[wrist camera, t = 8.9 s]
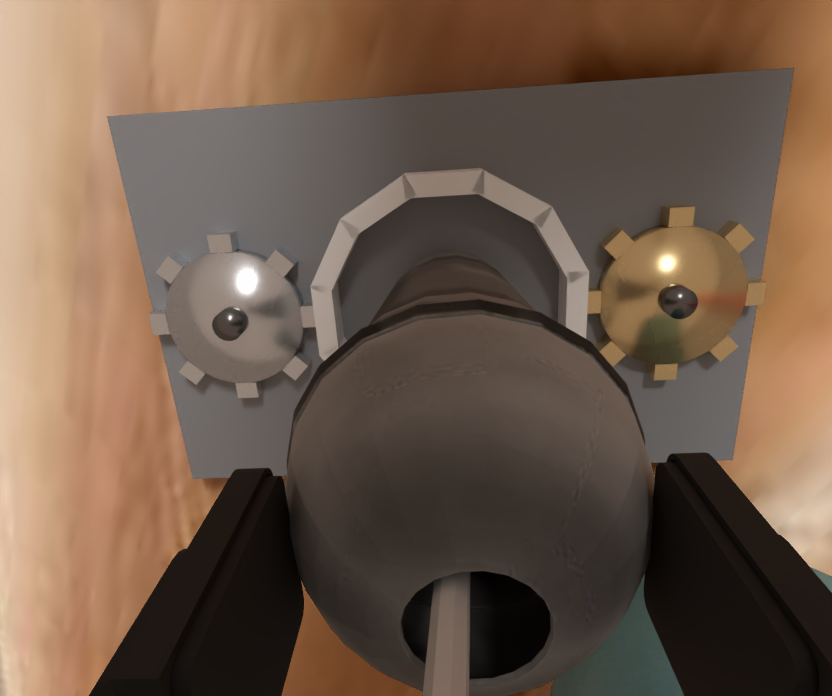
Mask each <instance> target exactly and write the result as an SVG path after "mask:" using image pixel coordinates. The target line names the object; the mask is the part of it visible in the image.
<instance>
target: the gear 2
mask: <svg viewBox="0 0 832 696" xmlns="http://www.w3.org/2000/svg"><path fill="white" fill-rule="evenodd" d="M694 212H695V206H691V205H687V204H680V205H663V206H662V213H661V224H662V225H659V226H655V227H651V228H649V229H646V230H644V231H642V232H640V233H638V234H636V235H634V236H633V237H631V238H630V237H629V236H628V235H627V234H626V233H625V232H624V231H623V230H621V229H619V228H617V227H615V228H614V229H613V230H612V231H611V232H610V233H609V234H608V235H607V236H606V237H605V238H604V239H603V240H602V241H601V242H600V243H599V245H600V246H601V247H602V248H603V249H604V250H605V251H606V252H607V253H608V254H609V255H610V256H611V257H610V259H609V260H608V261H607V263H606V265H605V267H604V268H603V270H602V273H601V275H600V278H599V281H598V285H597V286H588V308H587V314H590V313H597V315H598V318H599V321H600V323H601V325H602V328H603V329H604V331H605V332H606V334H607V335H608V336H609V337H608V336H607V335H605V336H604V337H602V338H601V339H600V340H599V341H598V342H597V343H596V344H595V345H594V346H595V347H596V348H597V349H598V350H599V352H600V353H601V354H602V355H603V356H604V357H605V359H606V360H607V361H608V362H609V363H610V364H611V365H612V366H614V365H615V364H617V363H618V362H619V361H620V360H621V359H622V358H623V357H624V356H626V354H628V355H629V356H631V357H633V358H635V359H637V360H640V361H643V362H647V363H648V369H647V373H648V374H649V375H650V377H651V378H652V379H653V380H676V376H677V367H678V364H677V363H680V362H684V361H688V360H691V359H693V358H696V357H698V356H700V355H702V354H704V353H706V352H707V351H708V352H709V353H710V354H711V355H713V356H714V357H715V358H716V359H718V360H719V361H720V362H721V361H722V360H723V359H725V358H726V357H727V356H728V355H729V354H730V353H732V352H733V351H734V350H735V349H736V348H738V347H739V346H738V345H737V344H736V343H735V342H734V341H733V340H732V339H731V338H730V337H729V336H728V333H729V332H730V331H731V330H732V328H733V327H734V325H735V324H736V322H737V321H738V319H739V317H740V315H741V313H742V310H743V307H744V306H753V305H764V298H765V292H766V286H767V282H765V281H762V280H760V279H758V278H747V275H746V270H745V267H744V264H743V261H742V259H741V257H740V256H739V254H738V253H740V252H741V251H742V250H744V249H745V248H746V247H747V246H748V245H749V244H750V243H751V242H752V241H754V240H755V239H754V238H753V237H752V236H751V235H750V234H749V233H748V232H747V230H746V229H745V228H744V227H743V226H742V225H741V224H740V223H737V222H734V221H730V220H729V221H728V222H727V223H726V224H725V225H724V226H723V227H721V228H720V229H719V230H718V231H717V232H716V233H714V232H711V231H709V230H706V229H704V228H701V227H697V226H694V225H693V221H694ZM624 352H625V353H626V354H625V353H624Z"/></svg>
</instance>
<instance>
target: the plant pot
mask: <svg viewBox="0 0 832 696" xmlns="http://www.w3.org/2000/svg"><path fill="white" fill-rule="evenodd" d="M811 569H812V570H813V571H814V573H815V574H816V575H817V576H818V577H819V578H820V580H821V581H822V582H823V583H824V584H825V585H826V587H827V588H828V589H829V590H830V591H831V592H832V576H829V575H827V574H825V573H823V572H820V571H818V570H816V569H813V568H811ZM644 578H645V574H644V576H643V578H642V580H641V583H640V585H639V587H638V589H637V591H636V593H635V596H634V598H633V600H632V602H631V604H630V607H629V609H628V611H627V613H626V614H625V616H624V617H623V619H622V620H621V622H620V623H619V625H618V626H617V628H616V629H615V630H614V631H613V632H612V633H611V634H610V635H609V636H608V637H607V638H606V639H605V640H604V641H603V643H602V644H601V645H600V646H599V647H598V648H597V649H596V650H595V651H594V652H593V653H592V654H591V655H590V656H589V657H588V658H587V659H586V660H584V661H583V662H582V663H580V664H579V665H577V666H576V667H574V668H573V669H571V670H569V671H567V672H566V673H564V674H562V675H560V676H559V677H557V678H555V679H554V682H553V685H552V690H551V695H550V696H684V694H683V692H682V690H681V687H680V685H679V683H678V680H677V678H676V676H675V674H674V671H673V669H672V667H671V664H670V662H669V660H668V658H667V655H666V653H665V651H664V648H663V646H662V644H661V642H660V639H659V637H658V635H657V632H656V630H655V628H654V625H653V623H652V621H651V619H650V616H649V614H648V611H647V609H646V605H645V600H644Z"/></svg>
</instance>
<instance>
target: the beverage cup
mask: <svg viewBox="0 0 832 696" xmlns="http://www.w3.org/2000/svg"><path fill="white" fill-rule="evenodd" d="M654 483H655V479H654V474H653V470H652V465H651V461H650V458H649V455H648V452H647V450H646V447H645V438H644V432H643V429H642V426H641V423H640V421H639V418H638V415H637V412H636V409H635V406H634V403H633V400H632V398H631V395H630V392H629V389H628V386H627V383H626V382H625V381H624V380H623V379H622V378H621V376H620V375H619V374H618V373H617V372H616V370H615V369H614V368H613V367H612V366H611V365H610V363H609V362H608V361H607V360H606V359H605V357H604V356H603V355H602V354H601V353H600V352H599V350H598V349H597V348H596V347H595V346H594V344H593V343H592V342H591V341H589V340H587V339H586V338H584V337H582V336H580V335H579V334H577V333H575V332H574V331H572V330H570V329H568V328H567V327H565V326H563V325H562V324H560V323H558V322H556V321H555V320H553V319H551V318H550V317H548V316H546V315H544V314H543V313H541V312H538V311H535V310H534V309H533V308H532V306H531V305H530V304H529V303H528V302H527V301H526V300H525V299H524V298H523V297H522V296H521V295H520V294H519V293H518V291H517V290H516V289H515V288H514V287H513V286H512V285H511V284H510V283H509V282H508V281H507V280H506V279H505V278H504V277H503V275H502V274H501V273H500V272H499V271H498V270H497V269H496V268H494V267H492V266H491V265H490V264H489V263H487V262H486V261H484V260H482V259H480V258H479V257H477V256H475V255H474V254H470V253H466V252H461V251H456V250H452V251H442V252H435V253H433V254H431V255H429V256H426V257H424V258H422V259H419V260H418V261H417V262H416V263H415V264H414V265H413V266H412V267H410V268H409V269H408V270H407V271H406V272H405V274H403V275H402V276H401V277H400V278H399V280H398V281H397V283H396V284H395V286H394V287H393V289H392V290H391V292H390V293H389V295H388V296H387V298H386V299H385V301H384V302H383V304H382V305H381V307H380V309H379V310H378V312H377V313H376V315H375V316H374V318H373V319H372V321H371V322H370V324H369V325H368V326H366V327H363V328H361V329H360V330H359V331H358V332H357V333H356V334H354V335H353V336H352V337H351V338H350V339H349V340H348V341H346V342H345V343H344V344H343V345H342V346H341V347H340V348H338V349H337V350H336V351H335V352H334V353H333V354H332V355H330V356H329V357H328V358H327V359H326V360H325V361H324V362H322V363H321V364H320V365H319V367H318V368H317V370H316V372H315V374H314V376H313V377H312V379H311V381H310V383H309V385H308V386H307V388H306V390H305V392H304V394H303V395H302V397H301V399H300V401H299V402H298V404H297V406H296V408H295V410H294V413H293V420H292V427H291V434H290V441H289V447H288V454H287V475H286V482H285V492H286V498H287V503H288V509H289V515H290V536H291V541H292V545H293V550H294V555H295V559H296V564H297V569H298V573H299V576H300V578H301V580H302V583H303V585H304V587H305V589H306V591H307V593H308V594H309V596H310V597H311V599H312V600H313V602H314V604H315V605H316V607H317V608H318V610H319V611H320V613H321V614H322V616H323V617H324V619H325V620H326V622H327V623H328V625H329V626H330V628H331V629H332V630H333V632H334V633H335V634H336V635H337V636H338V637H339V638H340V640H341V641H342V642H343V643H344V644H345V645H347V646H348V647H349V648H350V649H351V650H353V651H354V652H355V653H356V654H358V655H359V656H360V657H361V658H363V659H364V660H365V661H366V662H367V663H369V664H370V665H371V666H372V667H374V668H375V669H376V670H378V671H380V672H382V673H383V674H385V675H387V676H389V677H391V678H393V679H396V680H398V681H400V682H402V683H405V684H407V685H409V686H411V687H414V688H416V689H418V690H420V691H423V696H509V695H513V694H516V693H520V692H524V691H527V690H531V689H534V688H538V687H541V686H543V685H545V684H546V683H548V682H550V681H552V680H553V679H555V678H557V677H559V676H560V675H562V674H564V673H566V672H567V671H569V670H571V669H573V668H574V667H576V666H577V665H579V664H580V663H582V662H583V661H584V660H586V659H587V658H588V657H589V656H590V655H591V654H592V653H593V652H594V651H595V650H596V649H597V648H598V647H599V646H600V645H601V644H602V643H603V641H604V640H605V639H606V638H607V637H608V636H609V635H610V634H611V633H612V632H613V631H614V630H615V629H616V628H617V626H618V625H619V623H620V622H621V620H622V619H623V617H624V616H625V614H626V613H627V611H628V609H629V607H630V604H631V602H632V600H633V598H634V596H635V593H636V591H637V589H638V587H639V585H640V583H641V580H642V578H643V576H644V574H645V572H646V568H647V565H648V562H649V559H650V552H651V537H652V523H653V508H654V505H653V493H654Z"/></svg>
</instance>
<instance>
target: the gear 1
mask: <svg viewBox="0 0 832 696" xmlns="http://www.w3.org/2000/svg"><path fill="white" fill-rule="evenodd" d="M207 240H208V245H209V250H210V253H208V254H206V255H203V256H202V257H200V258H198V259H196V260H194V261H192V262H191V263H190V262H189V261H187V260H186V259H185V258H184V257H182V256H181V255H180V254H179V253H177V252H175V253H173V254H171V255H169V256H167V258H166V259H165V260H164V262H163V263H162V265H161V266H160V267H159V269H158V270H157V271H156V273H157V274H158V275H160V276H161V277H162V278H163V279H165V280H166V281H167V282H169V283H170V284H171V283H172V284H171V287H170V289H169V292H168V296H167V300H166V308H161V309H156V310H155V311H153V312H151V313H150V314H148V315H149V319H150V323H151V328H152V332H153V335H164V334H171V336H172V338H173V341H174V342H175V344H176V346H177V347H178V349H179V350H180V351H181V353H182V354H183V355H184V356H185V357H186V358H187V359H188V361H187V362H186V363H185V365H184V366H183V367H182V368H181V370H180V371H179V373H181V374H182V375H183V376H185V377H186V378H187V379H189V380H190V381H191V382H193V383H194V384H196V385H197V384H198V383H199V382H200V381H201V379H202V378H203V377H204V376H205V375H206V374H208V375H210V376H212V377H215V378H217V379H220V380H224V381H228V382H235V385H236V390H237V395H238V398H255V397H259V396H260V394H261V393H262V392H263V390H264V387H263V382H262V380H264V379H266V378H269V377H271V376H273V375H275V374H276V373H278V372H279V371H280V370H282V369H283V370H282V371H284V372H285V373H286V374H287V375H289V376H290V377H291V378H293V379H294V380H296V379H297V378H298V377H299V376H300V375H301V374H302V373H303V371H304V370H305V369H306V368H307V367H308V366H309V364H310V362H311V360H312V359H311V358H310V357H309V356H308V355H306V354H305V353H304V352H303V351H301V350H300V349H299V350H298V348H299V347H300V345H301V343H302V340H303V337H304V334H305V329H306V327H316V325H315V318H314V310H313V303H312V301H304V302H303V299H302V296H301V293H300V291H299V289H298V287H297V286H296V284H295V283H294V281H293V280H292V278H291V277H290V276H289V275H288V273H289V272H290V271H291V269H292V268H293V267H294V266H295V264H296V263H297V262H298V260H297V259H296V258H295V257H294V256H292V255H291V254H290V253H289V252H288V251H286V250H285V249H284V248H283V247H282V246H280V247H279V248H277V249H276V250H275V251H274V252H273V254H272V255H271V256H270V257H269V259H268V258H267V257H265V256H263V255H260V254H258V253H255V252H252V251H248V250H242V249H239V244H238V238H237V232H236V231H223V232H213V233H211V234H209V235H207ZM297 350H298V351H297Z"/></svg>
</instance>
